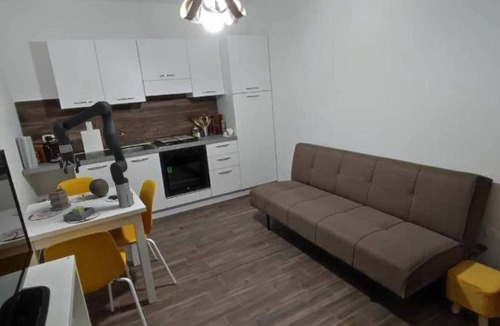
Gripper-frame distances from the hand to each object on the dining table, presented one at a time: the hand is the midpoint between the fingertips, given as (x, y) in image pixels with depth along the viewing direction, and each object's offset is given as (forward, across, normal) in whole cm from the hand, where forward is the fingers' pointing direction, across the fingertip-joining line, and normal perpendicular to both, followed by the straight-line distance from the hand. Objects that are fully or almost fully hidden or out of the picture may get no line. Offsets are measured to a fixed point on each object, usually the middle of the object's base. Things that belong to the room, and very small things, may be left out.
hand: (72, 173), depth 212 cm
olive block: (+28, -7, +11) cm, 30 cm away
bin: (+28, -7, +11) cm, 31 cm away
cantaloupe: (+28, +4, -30) cm, 41 cm away
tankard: (+28, +24, -11) cm, 39 cm away
